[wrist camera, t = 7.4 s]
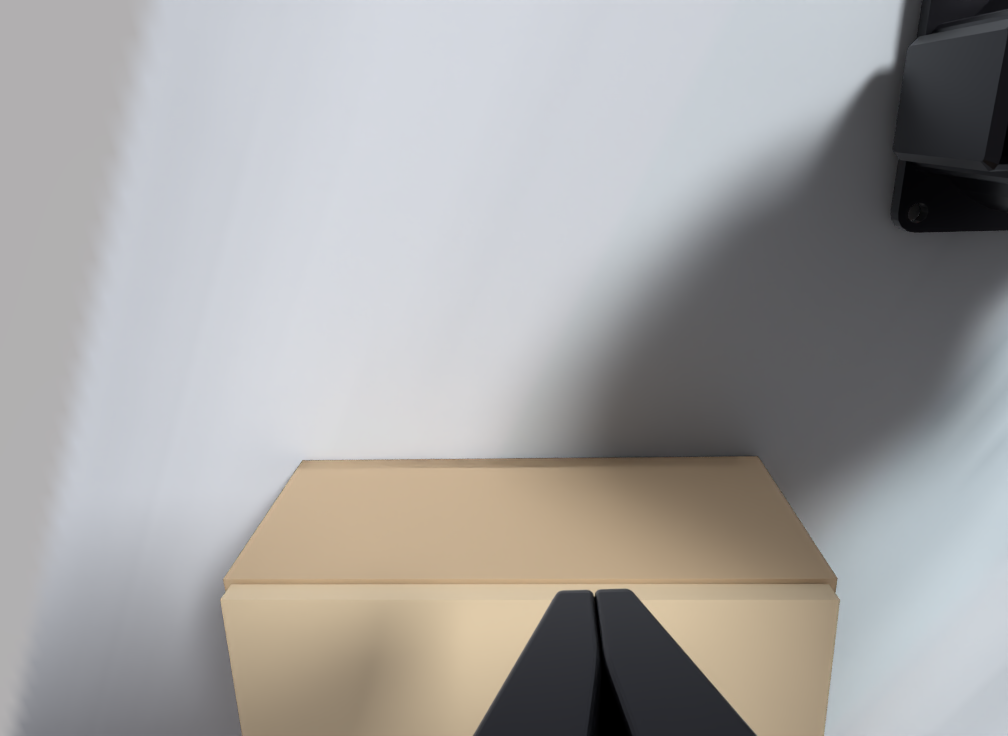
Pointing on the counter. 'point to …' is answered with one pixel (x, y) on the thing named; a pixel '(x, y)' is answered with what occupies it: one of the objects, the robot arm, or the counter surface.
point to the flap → (501, 652)
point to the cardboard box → (532, 524)
